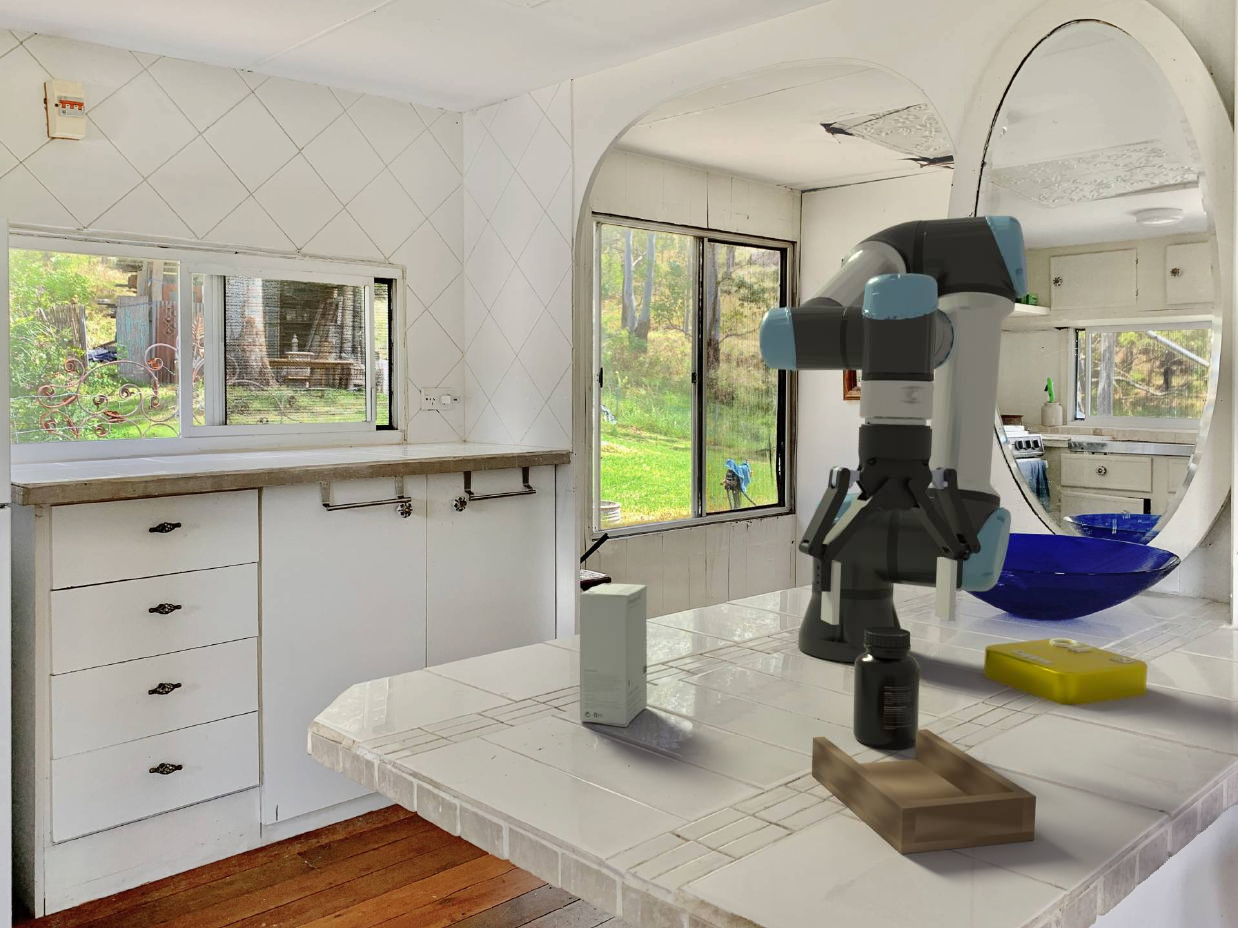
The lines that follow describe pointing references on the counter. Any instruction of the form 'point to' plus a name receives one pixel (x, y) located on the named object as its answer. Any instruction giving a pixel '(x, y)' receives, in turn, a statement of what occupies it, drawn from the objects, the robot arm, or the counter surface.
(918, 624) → the counter surface
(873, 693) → the supplement bottle
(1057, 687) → the element tile
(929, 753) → the u rest
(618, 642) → the skincare box
